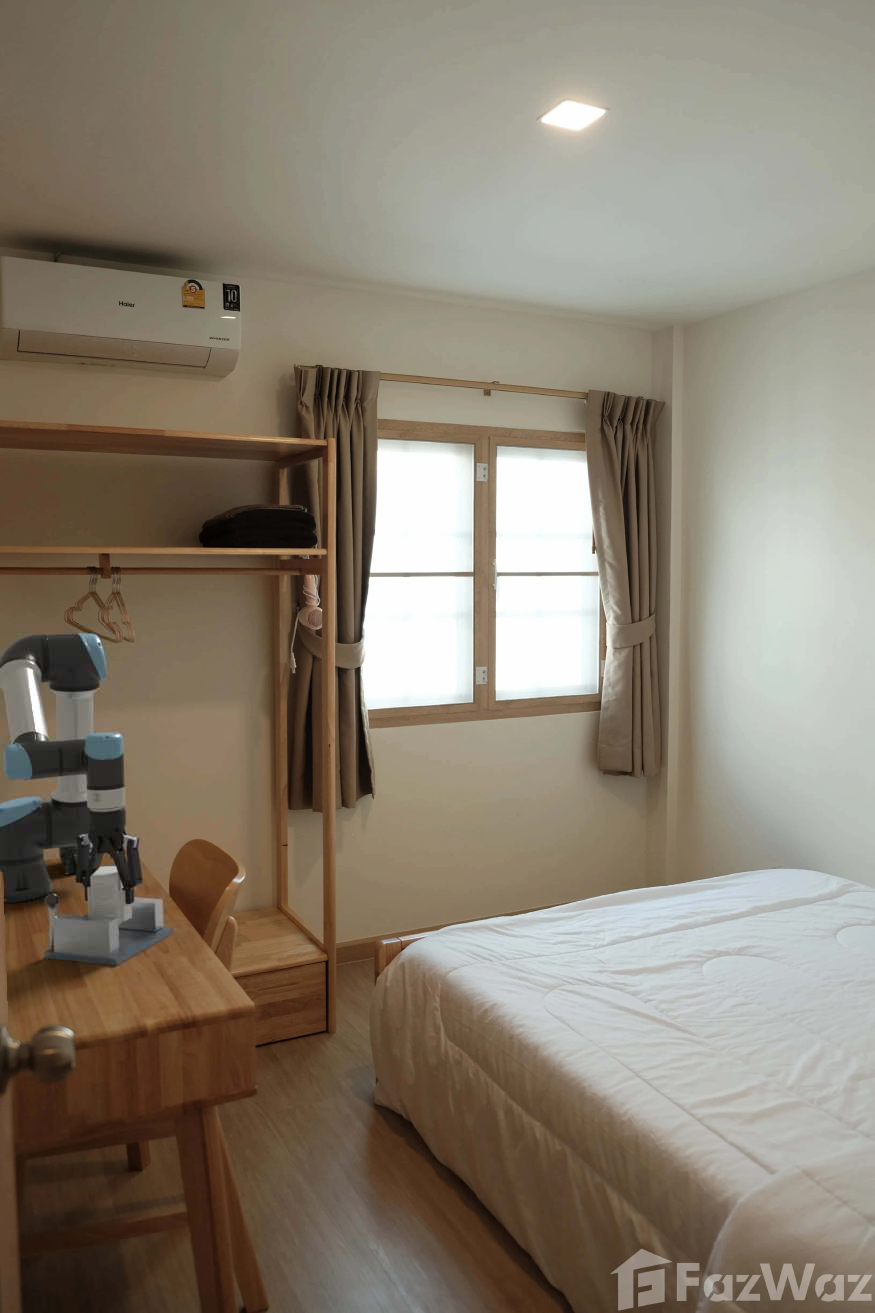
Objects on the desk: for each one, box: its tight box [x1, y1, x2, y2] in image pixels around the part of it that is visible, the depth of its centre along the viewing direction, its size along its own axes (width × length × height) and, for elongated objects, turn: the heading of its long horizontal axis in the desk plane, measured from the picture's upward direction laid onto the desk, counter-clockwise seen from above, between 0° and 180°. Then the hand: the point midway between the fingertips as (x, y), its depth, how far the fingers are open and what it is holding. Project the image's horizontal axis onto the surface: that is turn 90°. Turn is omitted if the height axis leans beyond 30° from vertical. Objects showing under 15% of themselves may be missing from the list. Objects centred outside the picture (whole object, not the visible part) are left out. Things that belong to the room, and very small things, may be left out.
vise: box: [43, 892, 174, 966], centre depth 205 cm, size 20×18×13 cm
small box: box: [90, 865, 124, 926], centre depth 205 cm, size 8×6×10 cm
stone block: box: [58, 844, 93, 875], centre depth 271 cm, size 18×9×20 cm, turn 18°
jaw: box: [118, 896, 164, 931], centre depth 213 cm, size 3×13×6 cm, turn 73°
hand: (110, 917), depth 205 cm, fingers closed on small box, 7 cm apart
